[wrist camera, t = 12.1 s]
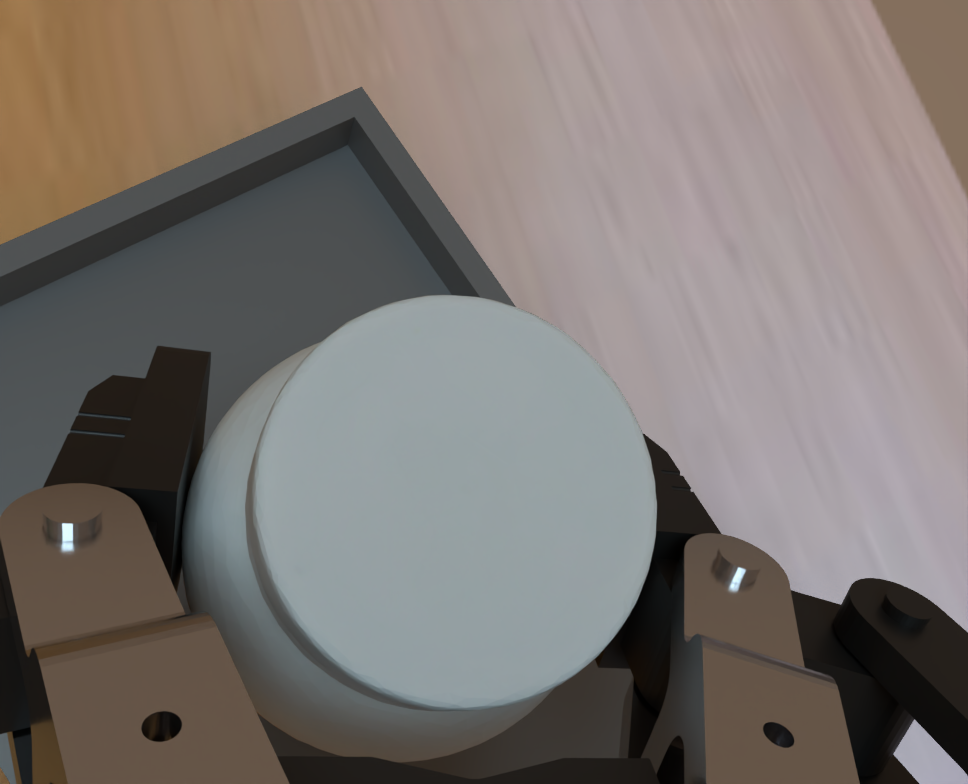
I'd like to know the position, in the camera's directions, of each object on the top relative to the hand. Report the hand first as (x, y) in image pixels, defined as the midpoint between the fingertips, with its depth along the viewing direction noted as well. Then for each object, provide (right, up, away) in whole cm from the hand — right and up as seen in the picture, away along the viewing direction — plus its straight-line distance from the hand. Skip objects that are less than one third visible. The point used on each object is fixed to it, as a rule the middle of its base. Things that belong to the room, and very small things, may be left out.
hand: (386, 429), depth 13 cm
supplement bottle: (-1, -3, +4) cm, 5 cm away
